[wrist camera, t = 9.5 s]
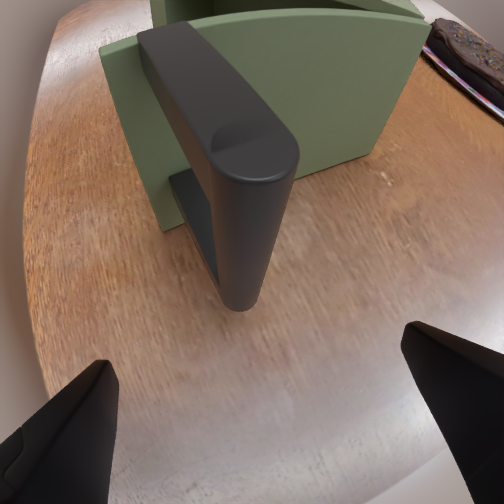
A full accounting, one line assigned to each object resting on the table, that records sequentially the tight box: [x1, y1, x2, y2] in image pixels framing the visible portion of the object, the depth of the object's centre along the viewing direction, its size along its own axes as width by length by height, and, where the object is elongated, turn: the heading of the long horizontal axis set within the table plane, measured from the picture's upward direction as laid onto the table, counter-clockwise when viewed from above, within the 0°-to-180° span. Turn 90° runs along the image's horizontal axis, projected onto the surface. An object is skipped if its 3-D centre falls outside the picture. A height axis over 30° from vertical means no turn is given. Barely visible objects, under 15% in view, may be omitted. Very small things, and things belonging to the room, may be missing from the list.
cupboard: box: [150, 0, 425, 28], centre depth 19 cm, size 12×16×12 cm
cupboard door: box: [99, 8, 432, 312], centre depth 13 cm, size 8×16×12 cm, turn 117°
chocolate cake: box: [421, 18, 504, 123], centre depth 30 cm, size 28×28×7 cm
